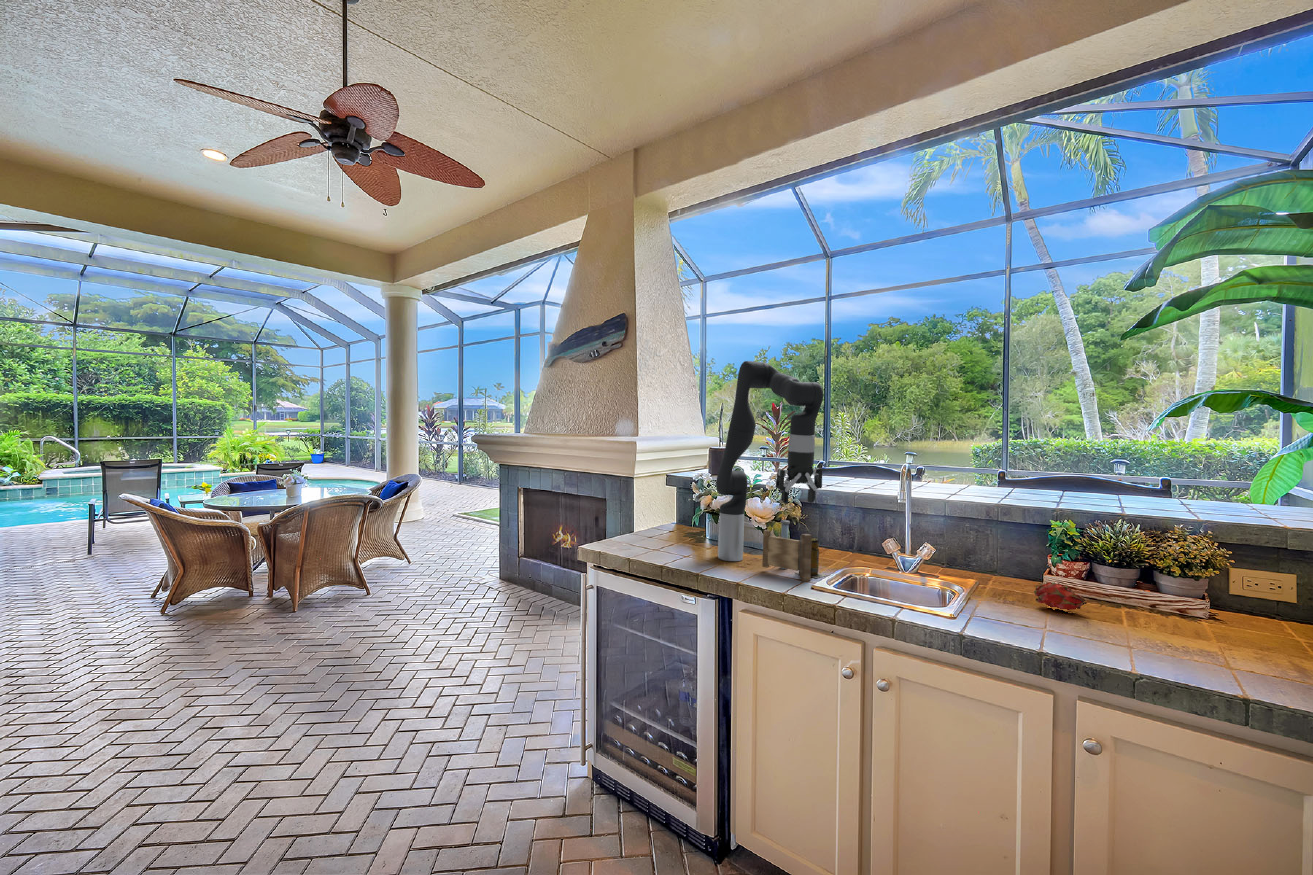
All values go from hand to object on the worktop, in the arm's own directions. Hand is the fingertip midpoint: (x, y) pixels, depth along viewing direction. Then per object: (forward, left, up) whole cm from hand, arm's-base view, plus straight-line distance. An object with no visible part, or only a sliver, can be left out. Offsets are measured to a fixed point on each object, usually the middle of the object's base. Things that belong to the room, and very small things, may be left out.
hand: (797, 502), depth 157 cm
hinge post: (-10, +11, -27) cm, 31 cm away
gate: (-18, +8, -26) cm, 32 cm away
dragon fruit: (+34, +65, -27) cm, 78 cm away
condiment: (-16, +18, -27) cm, 36 cm away
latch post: (-25, +13, -27) cm, 39 cm away
